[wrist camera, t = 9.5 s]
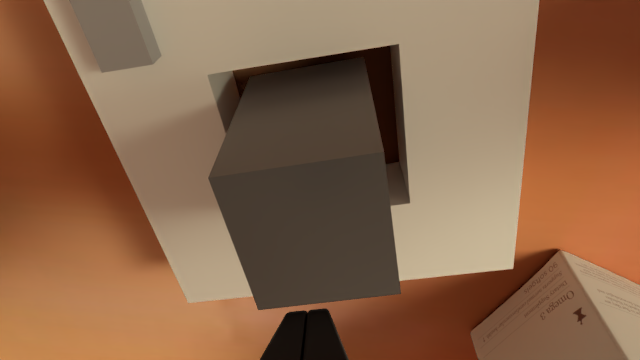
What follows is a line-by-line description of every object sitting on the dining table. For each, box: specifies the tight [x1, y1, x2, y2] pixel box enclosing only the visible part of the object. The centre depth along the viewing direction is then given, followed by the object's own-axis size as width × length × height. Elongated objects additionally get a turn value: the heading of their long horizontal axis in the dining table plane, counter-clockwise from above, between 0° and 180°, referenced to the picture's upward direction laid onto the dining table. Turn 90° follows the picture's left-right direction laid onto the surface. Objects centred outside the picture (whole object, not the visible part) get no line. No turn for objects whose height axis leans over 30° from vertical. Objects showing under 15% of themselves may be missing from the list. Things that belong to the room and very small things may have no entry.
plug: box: [208, 57, 401, 310], centre depth 14 cm, size 4×4×8 cm
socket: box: [43, 0, 539, 303], centre depth 16 cm, size 14×14×4 cm
